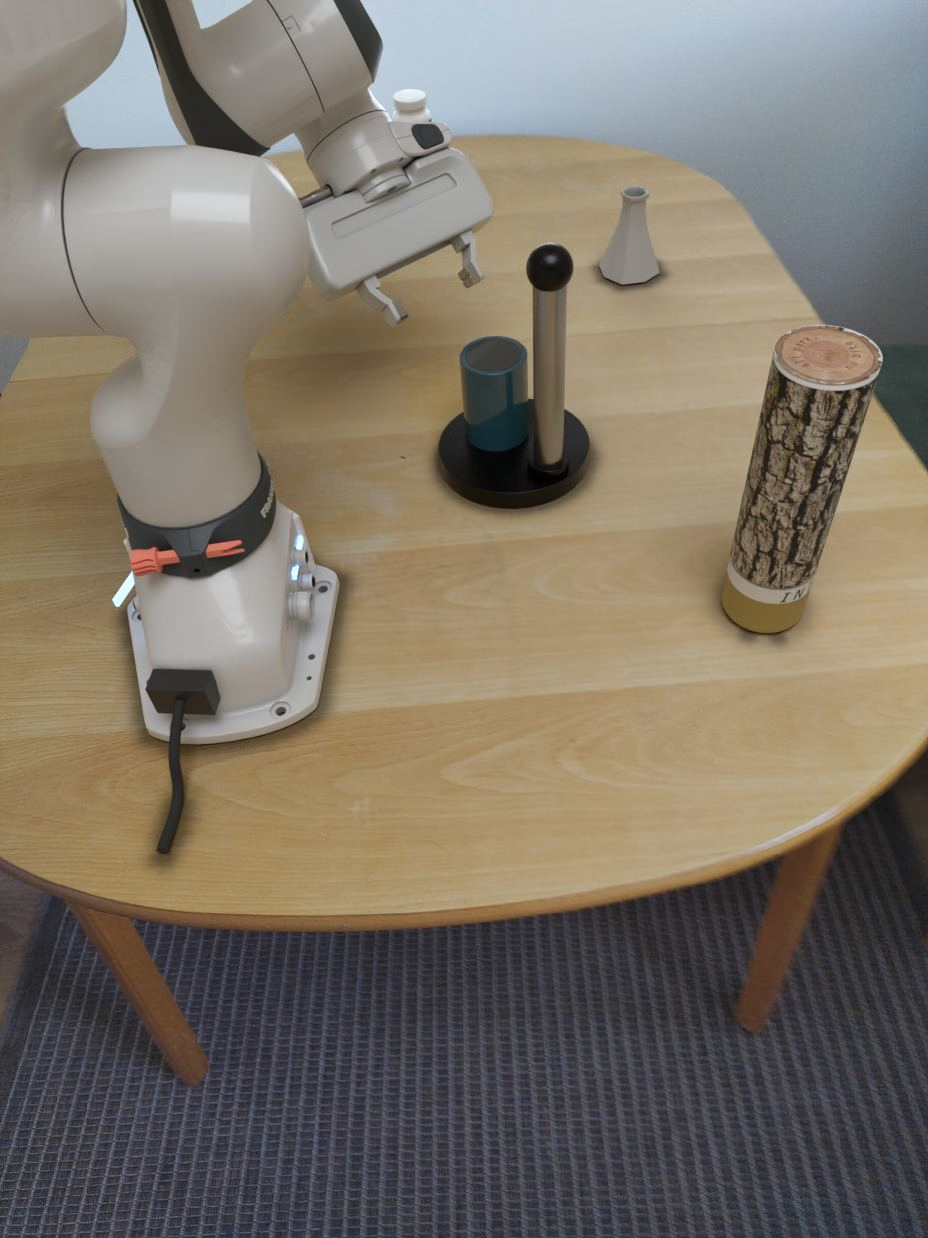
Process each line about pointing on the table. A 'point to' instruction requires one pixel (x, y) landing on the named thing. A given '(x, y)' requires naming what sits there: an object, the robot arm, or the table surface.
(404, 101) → the pill bottle
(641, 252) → the flask
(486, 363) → the cup
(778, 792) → the table surface
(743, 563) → the paper tube
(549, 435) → the towel holder
